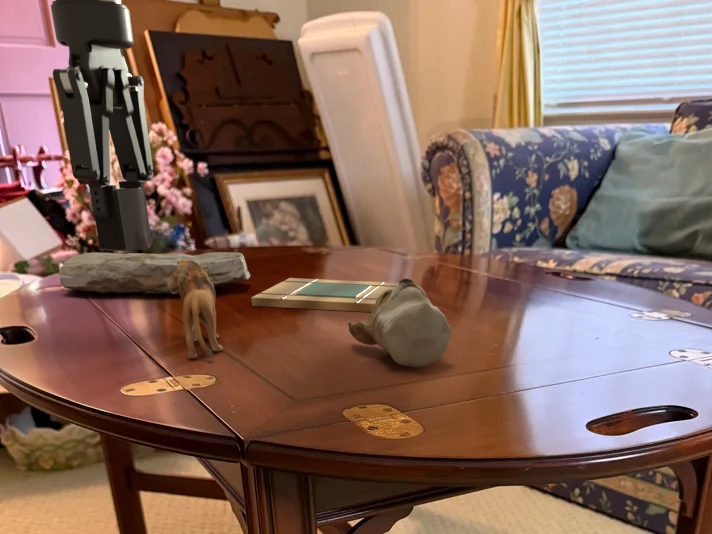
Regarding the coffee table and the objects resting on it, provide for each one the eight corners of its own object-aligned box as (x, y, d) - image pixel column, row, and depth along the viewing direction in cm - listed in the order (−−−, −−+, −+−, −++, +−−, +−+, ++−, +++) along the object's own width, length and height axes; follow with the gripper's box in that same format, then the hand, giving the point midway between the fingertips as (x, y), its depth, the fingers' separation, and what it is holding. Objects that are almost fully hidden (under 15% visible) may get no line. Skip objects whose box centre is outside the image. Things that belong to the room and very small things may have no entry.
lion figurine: (171, 334, 94) (160, 257, 90) (214, 330, 96) (206, 255, 92) (189, 364, 83) (178, 278, 78) (238, 359, 84) (229, 275, 80)
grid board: (251, 305, 109) (251, 296, 109) (289, 285, 123) (289, 277, 122) (387, 313, 106) (387, 303, 105) (410, 291, 119) (411, 282, 119)
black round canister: (94, 249, 86) (83, 188, 83) (118, 243, 91) (109, 184, 88) (135, 252, 86) (126, 189, 82) (158, 245, 90) (150, 186, 87)
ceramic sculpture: (375, 288, 74) (341, 272, 87) (376, 376, 78) (344, 348, 91) (476, 284, 77) (429, 269, 90) (473, 369, 81) (428, 343, 94)
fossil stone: (256, 282, 126) (253, 247, 123) (238, 300, 113) (235, 262, 110) (87, 280, 126) (80, 246, 123) (50, 298, 113) (42, 260, 110)
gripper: (69, -14, 68) (113, 258, 80) (166, 12, 84) (192, 236, 95) (-4, -13, 70) (49, 255, 81) (105, 12, 85) (137, 233, 97)
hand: (126, 244), depth 88 cm, fingers closed on black round canister, 5 cm apart
